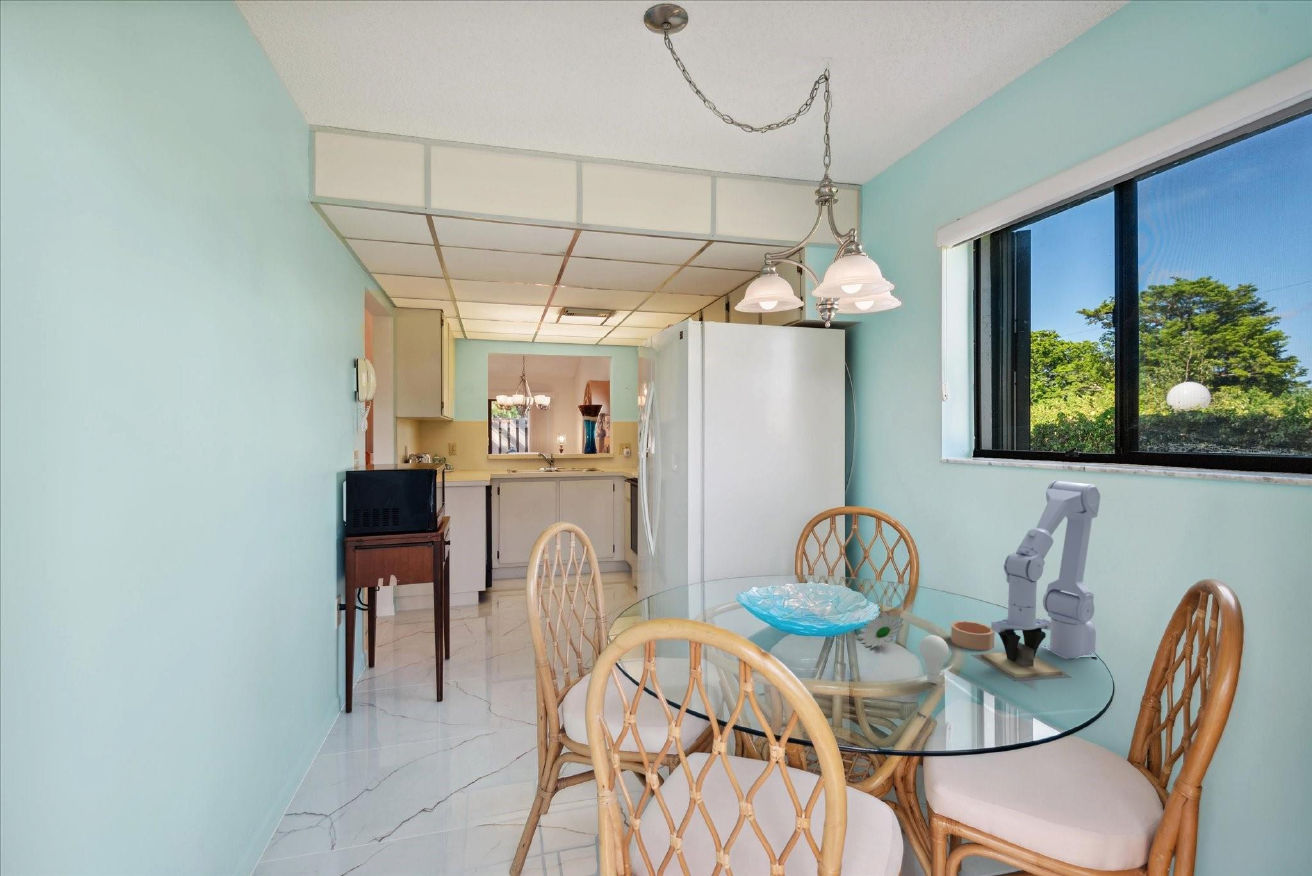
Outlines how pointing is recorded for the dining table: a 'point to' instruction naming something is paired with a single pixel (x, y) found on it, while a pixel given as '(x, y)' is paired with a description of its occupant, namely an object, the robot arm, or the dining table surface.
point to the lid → (1022, 663)
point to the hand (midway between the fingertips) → (1020, 659)
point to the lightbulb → (933, 656)
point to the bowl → (972, 635)
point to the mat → (1021, 677)
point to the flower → (881, 630)
